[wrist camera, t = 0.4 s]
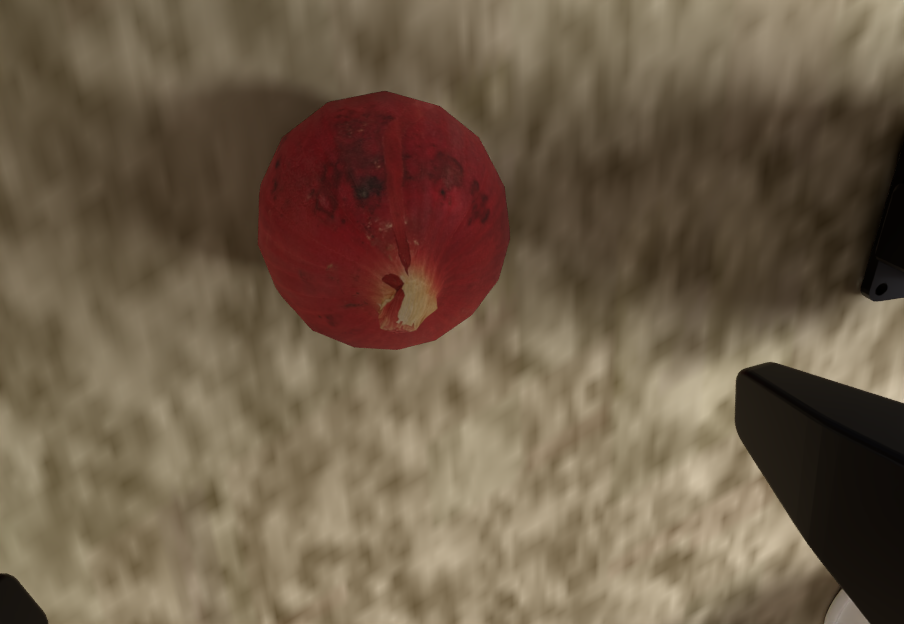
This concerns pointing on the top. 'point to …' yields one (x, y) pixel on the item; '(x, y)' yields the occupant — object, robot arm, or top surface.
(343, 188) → the onion
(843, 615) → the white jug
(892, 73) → the top surface
